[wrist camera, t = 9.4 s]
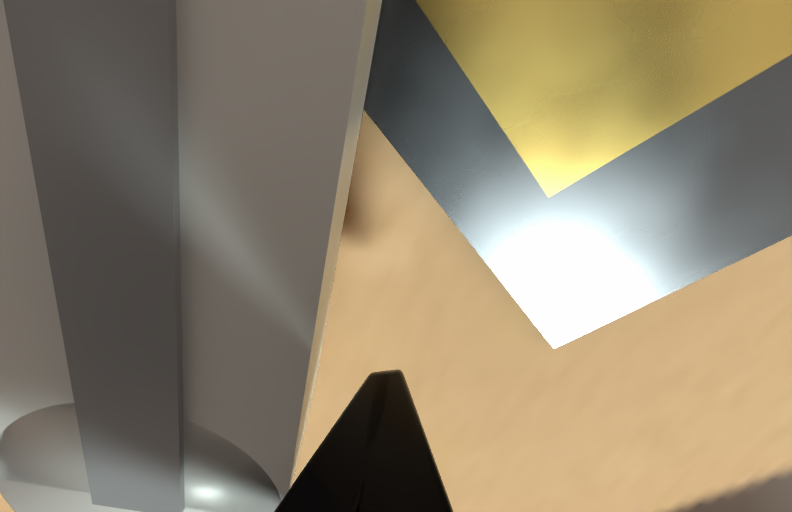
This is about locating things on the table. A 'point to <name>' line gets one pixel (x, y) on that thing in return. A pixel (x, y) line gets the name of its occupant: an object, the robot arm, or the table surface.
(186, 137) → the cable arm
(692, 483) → the table surface
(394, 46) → the label plate
